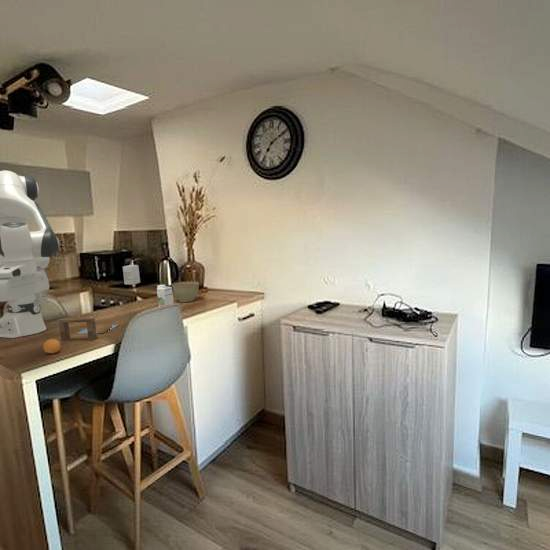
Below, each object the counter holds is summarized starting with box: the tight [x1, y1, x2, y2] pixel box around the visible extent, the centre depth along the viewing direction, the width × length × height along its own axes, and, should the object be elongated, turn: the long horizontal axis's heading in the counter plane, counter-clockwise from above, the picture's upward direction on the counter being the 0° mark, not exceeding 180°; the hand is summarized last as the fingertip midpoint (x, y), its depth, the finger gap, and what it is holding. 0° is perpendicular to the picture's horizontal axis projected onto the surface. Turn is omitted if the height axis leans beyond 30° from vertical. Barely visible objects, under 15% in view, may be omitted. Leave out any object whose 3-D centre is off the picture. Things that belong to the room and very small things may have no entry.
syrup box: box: [156, 285, 174, 308], centre depth 192 cm, size 6×6×14 cm
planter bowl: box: [171, 281, 200, 303], centre depth 223 cm, size 16×16×11 cm
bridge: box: [58, 316, 98, 341], centre depth 155 cm, size 3×14×9 cm, turn 84°
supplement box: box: [122, 264, 141, 286], centre depth 297 cm, size 9×9×15 cm
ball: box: [43, 338, 61, 354], centre depth 139 cm, size 6×6×6 cm
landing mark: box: [76, 324, 119, 335], centre depth 169 cm, size 13×13×1 cm
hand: (27, 308), depth 127 cm, fingers open, 8 cm apart
